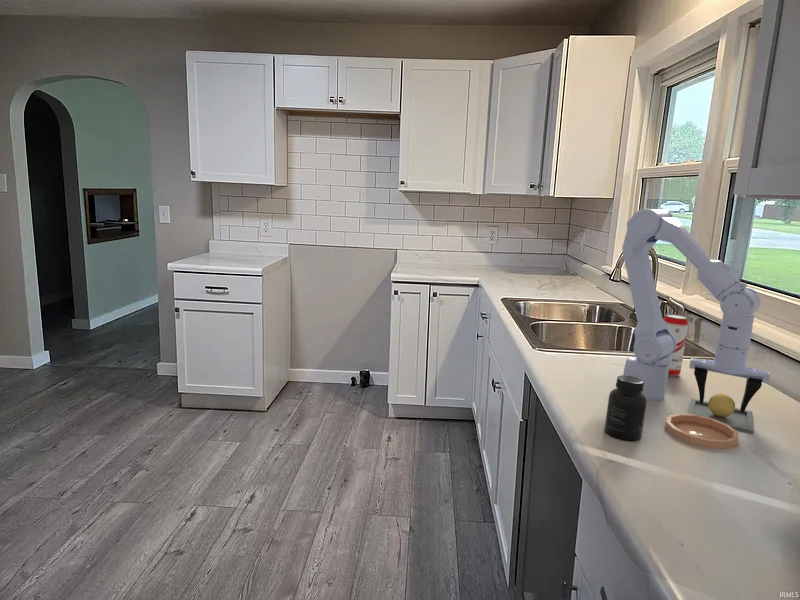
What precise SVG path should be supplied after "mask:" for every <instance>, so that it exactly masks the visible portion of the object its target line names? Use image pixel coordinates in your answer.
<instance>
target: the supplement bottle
mask: <svg viewBox="0 0 800 600" xmlns="http://www.w3.org/2000/svg"><path fill="white" fill-rule="evenodd" d="M643 386H644V381H643V380H642V379H640V378H637V377H633V376H627V375H623V374H622V375H618V376H617V378H616V383H615V387H616V388H613V389H612V390H611V391H610V392H609V394H608V401H607V409H606V415H605V423H604V433H605V434H606V436H607V435H608V436H609V437H611V438H613V439H616V440H619V441H623V442H629V443H630V442H639V441H640V440H641V439H642V435H643V431H644V429H643V428H644V423H645V417H646V412H647V411H646V410H647V402H648V399H646V397H645V395H644V394H643V393H641V392H642V391H643Z"/></svg>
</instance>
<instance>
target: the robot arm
mask: <svg viewBox="0 0 800 600" xmlns="http://www.w3.org/2000/svg"><path fill="white" fill-rule="evenodd" d="M626 227H627V230H626V233H625V236H624V241H623V244H622V249H621V251H622V256H623V260H624V265H625V270H626V274H627V278H628V283H629V287H630V293H631V298H632V303H633V306H634V312H635V317H636V321H637V324H636V327H635V329H634V332H633V333H634V343H633V353H634V355H635V357H633V356H627V358H626V360H625V364H624V368H623V374H622V375H627V376H633V377H637V378H640V379H642V380H643V381H644V386H643V391H642V392H641V393H643V394H644V395H645V397H646V399H647V400H650V401H661V400H664V398H665V395H668V394H667V393H666V389H667V383H668V377H669V376H668V372H669V366H670V360H669V356H670V355H671V354H673V352H674V351H675V349H676V340H675V338H674V337H673V335H672V334H671V333H670V331H669V327H668V325H667V323H666V322H665V321H664V320H663V319H664V318H663V314H662V311H661V307H660V301H659V297H658V293H657V288H656V282H655V280H654V274H653V268H652V263H651V260H650V256H649V252H650V250H651V249H652V248H653V247H654V245H655V244H656V243H657V241H663V242H666V243H670V244H671V245H673V247H675V248H676V249H677V250H678V252H680V253H681V254H682V255H683V256H684V257H685V258H686V260H688V261H689V262H690V263H691V264H692V265H693V266H694V267H695V268H696V269H697V276H696V278H697V279H698V280H699V282H701V284H702V285H703V286H704V288H706V289H707V291H708V292H709V293H710V294H711V295H712V296H713V297H714V298H715V299H716V301H718V302H720V303H719V306H720V307H719V308H720V310H721V313H722V320H721V323H720V328H719V334H718V337H717V338H718V339H717V343H716V348H715V355H714V360H712V359H704V358H703V359H702V358H695V357H691V358H690V361H689V369H691V370H693V371H694V372H693V375H694V377H695V380H696V384H697V387H698V393H699V395H698V396H699V400H700V401H699V403H702V404H703V401H705V391H706V390H705V389H706V383H707V382H706V381H707V377H708V373H709V372H712V373H716V374H717V373H718V374H722V375H727V376H733V377H738V378H743V379H746V381H745V382H746V383H745V388H744V393H743V397H742V399H741V400H742V401H741V404H740V408H739V409H740V412H743V413H744V412H745V410H746V408H747V406H748V405H749V403H750V401H751V400H752V398H753V397H754V396H755V395H756V393H758V391H759V390H760V389H761V387H762V385H763V384H762V383H766V384H769V381H770V376H771V373H770V371H764V370H761V369H758V368H753V367H750V366H746V364H747V360H748V354H749V349H750V344H751V338H752V333H753V328H754V327H753V324H754V320H755V315H754V314H755V313H756V312H758V311H759V309H760V307H761V299H760V296H759V295H758V293H757V291H756V290H754V289H752V288H749V287H748V284H747V283H746V281H745V282H742V281H741V280H740V279H739V278H738V276H736V275H735V273H733V272H732V271H731V269H732V266H731V264H729V263H728V262H727V263H724V262H723V261H722V260H718V259H712V258H711V257H710V255H709V254H708V253H707V252H706V251H705V250H704V249H703V247H701V245H700V244H699V243H698V241H697V240H696V239H695V238H694V237H693V235H692V234H691V233H690V232H689V231H688V230H687V228H686V227H685V226H684V224H682V222H681V220H679V219H678V218H677V217H674V216H673V213H672V212H671V211H669V210H668V209H665V208H657V209H656V208H655V209H654V208H641V209H639V210H637V211H636V212H635V213H633V215H632V216H631V217H630V218H629V220H628V221H627V222H626Z"/></svg>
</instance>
